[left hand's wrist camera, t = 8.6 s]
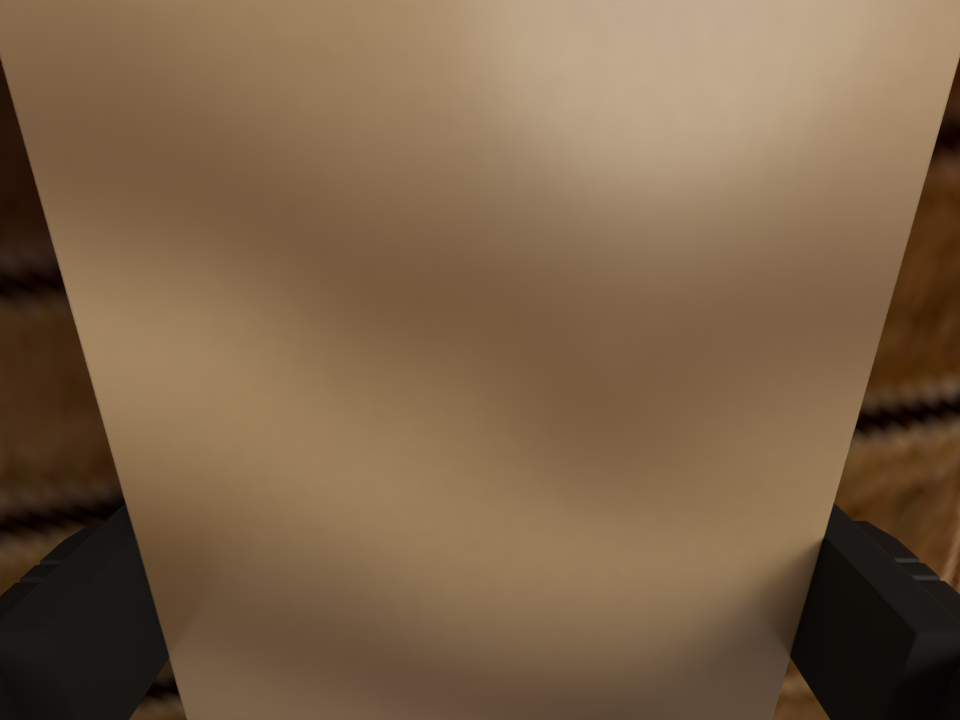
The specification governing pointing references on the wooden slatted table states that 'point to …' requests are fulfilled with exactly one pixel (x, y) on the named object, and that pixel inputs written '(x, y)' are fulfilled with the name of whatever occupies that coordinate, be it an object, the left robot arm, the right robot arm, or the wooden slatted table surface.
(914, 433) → the wooden slatted table surface
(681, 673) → the cabinet
